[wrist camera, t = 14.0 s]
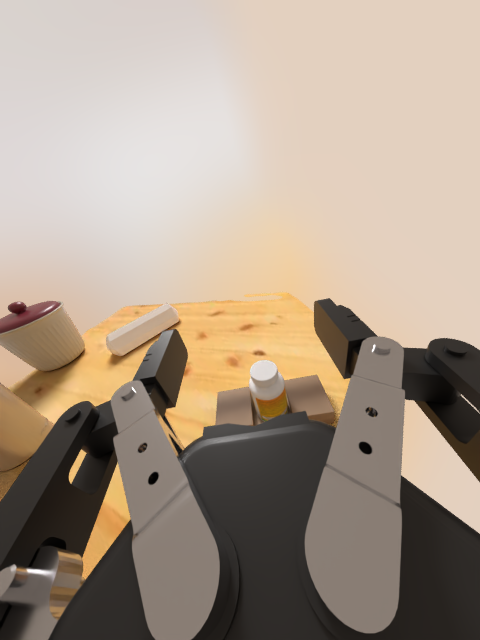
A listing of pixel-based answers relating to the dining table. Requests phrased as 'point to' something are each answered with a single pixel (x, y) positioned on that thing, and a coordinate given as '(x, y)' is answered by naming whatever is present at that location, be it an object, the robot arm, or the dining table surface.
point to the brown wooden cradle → (299, 398)
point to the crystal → (141, 329)
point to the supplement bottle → (267, 390)
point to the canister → (41, 335)
